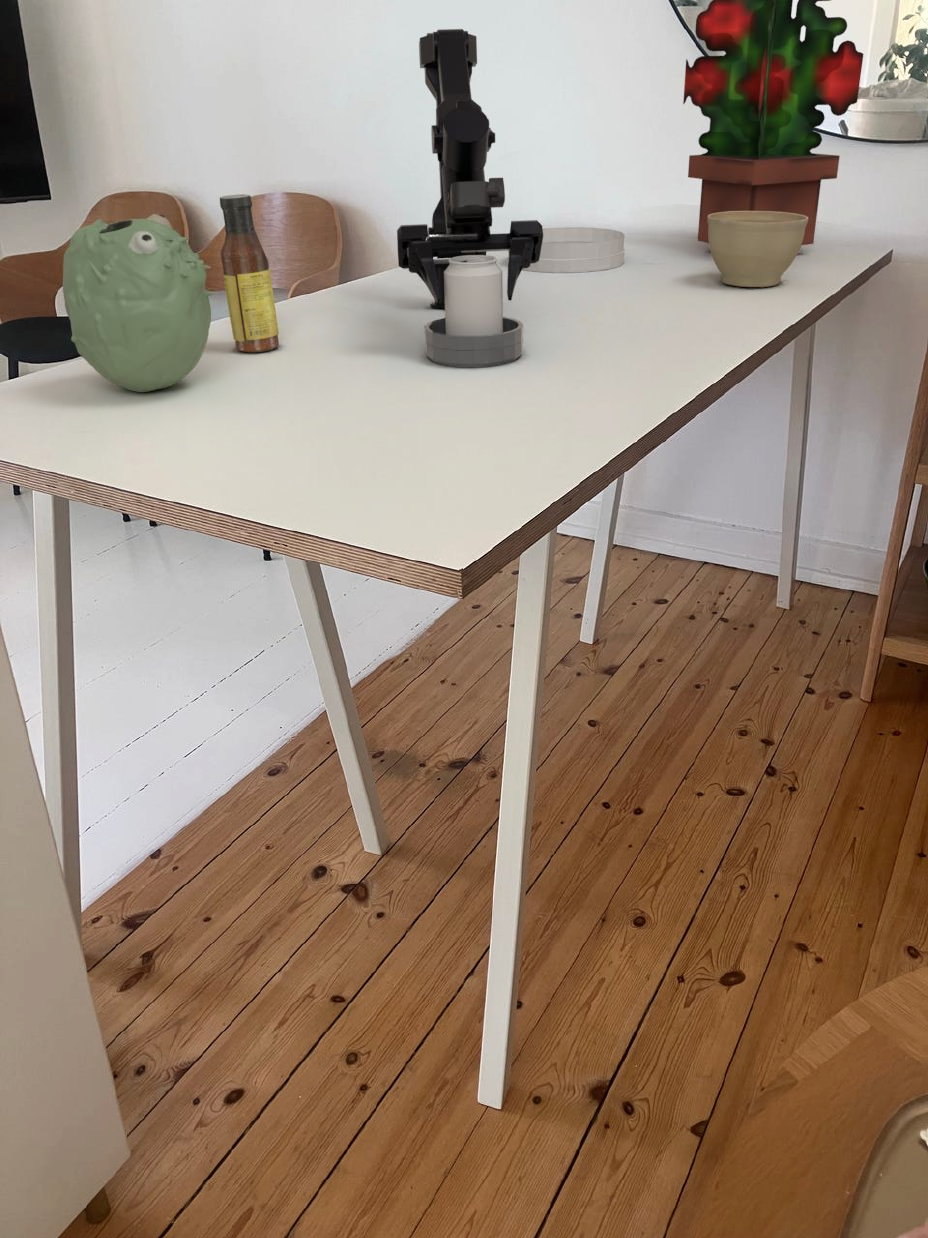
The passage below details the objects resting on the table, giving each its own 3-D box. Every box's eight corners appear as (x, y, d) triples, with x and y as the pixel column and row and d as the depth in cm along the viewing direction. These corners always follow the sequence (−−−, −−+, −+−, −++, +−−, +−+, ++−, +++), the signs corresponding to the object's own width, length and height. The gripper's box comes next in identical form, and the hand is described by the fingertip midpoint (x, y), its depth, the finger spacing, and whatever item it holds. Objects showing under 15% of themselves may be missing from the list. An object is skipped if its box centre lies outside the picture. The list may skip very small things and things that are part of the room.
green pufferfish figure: (120, 368, 139) (91, 205, 129) (249, 376, 134) (229, 207, 124) (44, 401, 126) (6, 223, 116) (184, 412, 120) (156, 226, 111)
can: (457, 343, 144) (455, 251, 139) (510, 346, 142) (509, 253, 137) (438, 356, 138) (434, 261, 133) (492, 360, 136) (491, 262, 130)
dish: (643, 257, 207) (644, 230, 204) (592, 276, 190) (593, 246, 188) (543, 250, 217) (543, 224, 215) (487, 267, 201) (486, 239, 199)
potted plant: (673, 250, 214) (690, -9, 193) (762, 240, 222) (787, -9, 201) (743, 265, 196) (770, -18, 175) (836, 255, 204) (872, -18, 183)
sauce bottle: (288, 344, 149) (272, 192, 139) (266, 355, 143) (248, 198, 134) (246, 342, 151) (228, 192, 141) (224, 352, 145) (203, 197, 136)
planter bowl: (795, 294, 171) (804, 223, 166) (695, 290, 176) (700, 220, 171) (804, 276, 185) (812, 210, 180) (710, 273, 190) (715, 208, 185)
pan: (408, 362, 138) (406, 331, 136) (455, 341, 148) (454, 312, 146) (495, 372, 133) (495, 340, 131) (538, 349, 142) (539, 319, 141)
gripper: (393, 156, 132) (400, 263, 127) (541, 151, 133) (554, 257, 128) (395, 216, 143) (401, 316, 138) (532, 211, 144) (544, 310, 139)
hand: (474, 299), depth 136 cm, fingers open, 9 cm apart
